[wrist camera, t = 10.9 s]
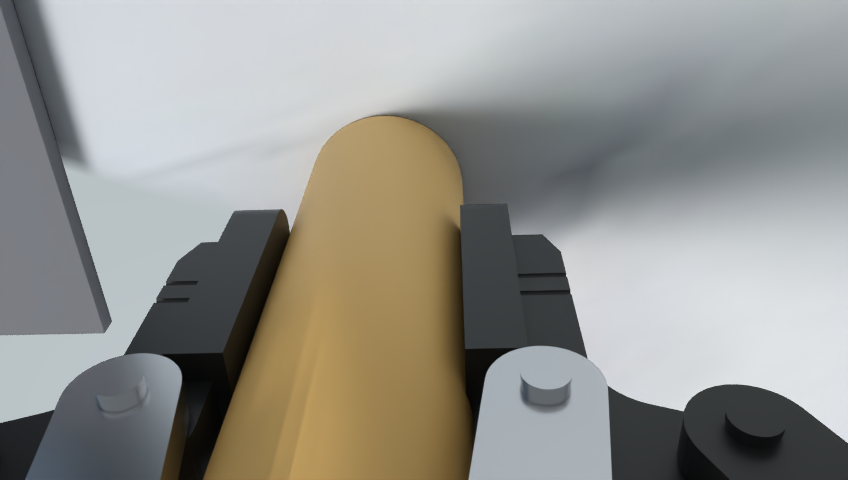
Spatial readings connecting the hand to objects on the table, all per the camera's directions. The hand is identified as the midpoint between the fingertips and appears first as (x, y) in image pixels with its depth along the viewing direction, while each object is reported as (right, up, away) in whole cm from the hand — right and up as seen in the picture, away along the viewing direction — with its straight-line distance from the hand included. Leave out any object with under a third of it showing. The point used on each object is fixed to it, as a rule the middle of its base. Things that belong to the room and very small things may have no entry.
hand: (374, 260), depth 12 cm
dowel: (0, +1, +2) cm, 3 cm away
